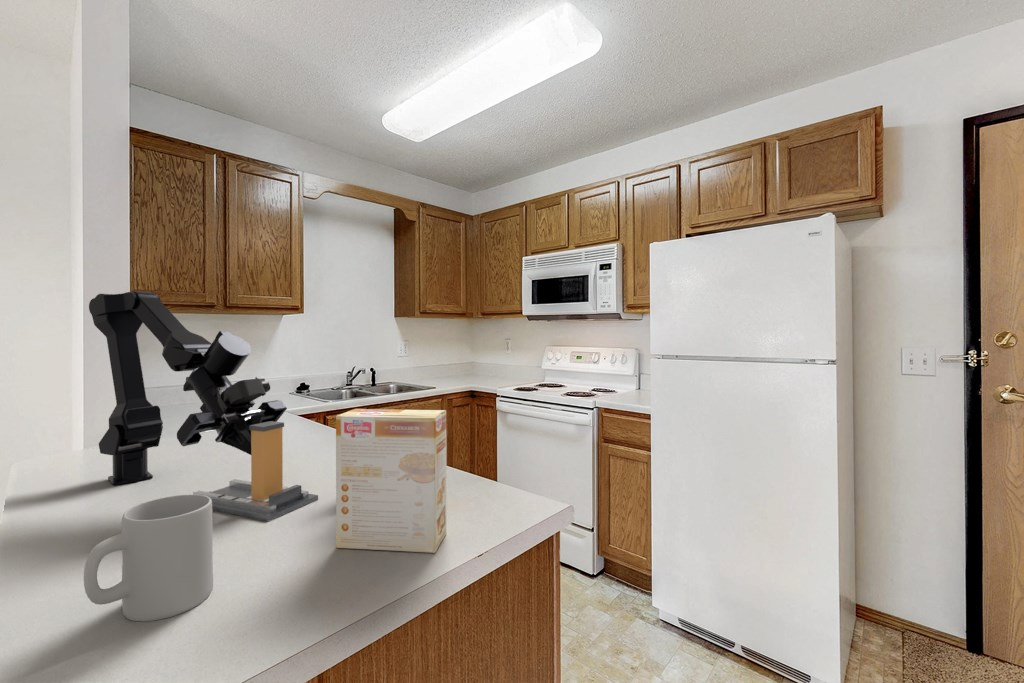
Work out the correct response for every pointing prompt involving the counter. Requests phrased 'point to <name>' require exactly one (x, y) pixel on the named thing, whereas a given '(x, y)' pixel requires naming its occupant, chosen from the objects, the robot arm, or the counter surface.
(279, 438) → the fader tab
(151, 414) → the robot arm
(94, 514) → the counter surface
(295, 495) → the plate
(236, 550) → the counter surface
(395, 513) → the coffeecake box
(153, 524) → the mug
